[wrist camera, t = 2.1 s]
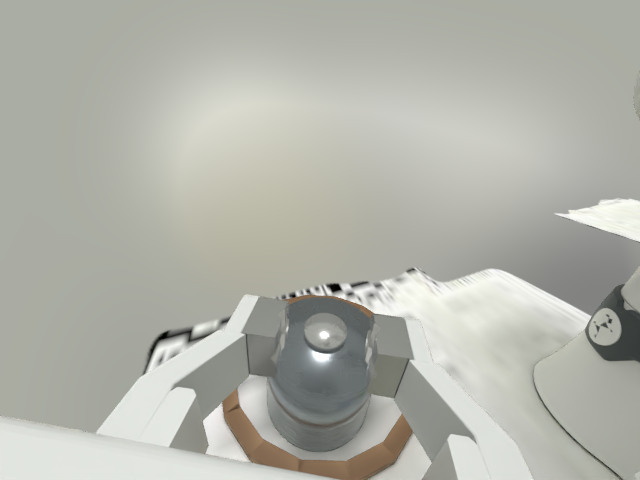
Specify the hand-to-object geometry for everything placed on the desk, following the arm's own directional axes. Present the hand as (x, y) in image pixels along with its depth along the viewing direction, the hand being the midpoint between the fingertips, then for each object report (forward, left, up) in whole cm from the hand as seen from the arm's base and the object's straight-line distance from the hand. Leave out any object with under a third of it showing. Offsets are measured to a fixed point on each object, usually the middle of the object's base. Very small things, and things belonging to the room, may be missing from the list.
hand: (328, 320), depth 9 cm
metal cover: (+3, -10, -22) cm, 24 cm away
